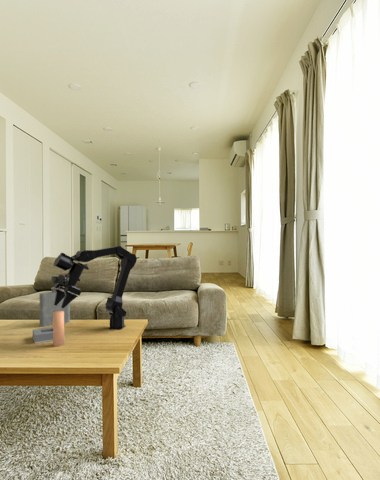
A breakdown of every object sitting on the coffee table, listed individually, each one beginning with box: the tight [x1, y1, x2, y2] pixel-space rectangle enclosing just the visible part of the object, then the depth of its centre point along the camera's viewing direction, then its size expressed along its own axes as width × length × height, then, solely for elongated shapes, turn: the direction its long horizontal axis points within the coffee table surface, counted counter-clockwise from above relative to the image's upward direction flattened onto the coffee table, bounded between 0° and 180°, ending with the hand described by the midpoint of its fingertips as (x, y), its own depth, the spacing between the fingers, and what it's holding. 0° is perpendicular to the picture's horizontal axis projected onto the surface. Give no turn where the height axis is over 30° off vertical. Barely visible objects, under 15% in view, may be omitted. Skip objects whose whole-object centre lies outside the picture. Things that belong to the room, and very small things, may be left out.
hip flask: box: [39, 286, 71, 328], centre depth 171 cm, size 16×4×20 cm, turn 132°
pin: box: [52, 311, 65, 347], centre depth 133 cm, size 4×4×14 cm
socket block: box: [32, 326, 53, 344], centre depth 143 cm, size 12×12×4 cm
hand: (58, 306), depth 141 cm, fingers open, 9 cm apart
